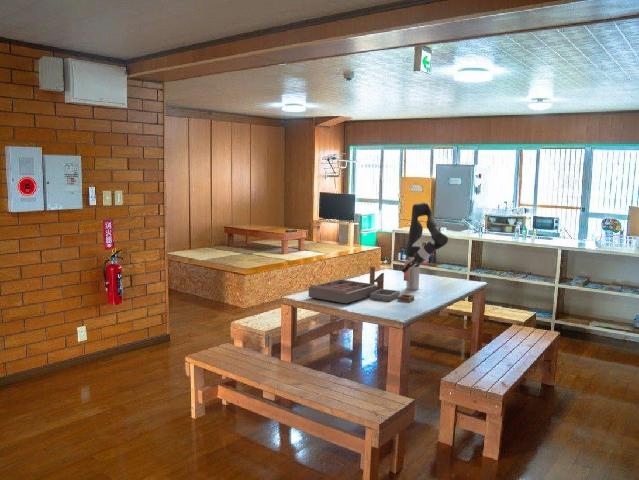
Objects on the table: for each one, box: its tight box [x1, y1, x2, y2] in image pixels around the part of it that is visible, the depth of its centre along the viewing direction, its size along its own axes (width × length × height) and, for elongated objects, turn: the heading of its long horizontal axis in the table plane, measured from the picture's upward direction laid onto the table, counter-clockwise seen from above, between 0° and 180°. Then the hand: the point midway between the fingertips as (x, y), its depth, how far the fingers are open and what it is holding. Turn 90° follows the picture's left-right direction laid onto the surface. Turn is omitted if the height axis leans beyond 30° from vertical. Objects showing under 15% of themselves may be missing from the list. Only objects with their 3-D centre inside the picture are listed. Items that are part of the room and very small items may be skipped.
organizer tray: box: [307, 279, 377, 304], centre depth 367 cm, size 32×40×10 cm
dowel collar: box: [397, 293, 415, 303], centre depth 360 cm, size 9×9×3 cm
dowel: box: [403, 260, 411, 282], centre depth 358 cm, size 4×4×13 cm
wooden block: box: [369, 265, 385, 291], centre depth 389 cm, size 4×11×18 cm, turn 54°
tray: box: [369, 288, 401, 303], centre depth 367 cm, size 20×14×4 cm
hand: (404, 271), depth 359 cm, fingers closed on dowel, 4 cm apart
